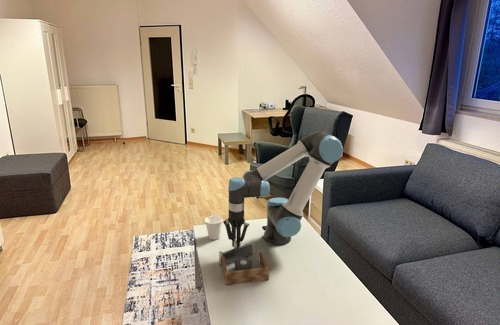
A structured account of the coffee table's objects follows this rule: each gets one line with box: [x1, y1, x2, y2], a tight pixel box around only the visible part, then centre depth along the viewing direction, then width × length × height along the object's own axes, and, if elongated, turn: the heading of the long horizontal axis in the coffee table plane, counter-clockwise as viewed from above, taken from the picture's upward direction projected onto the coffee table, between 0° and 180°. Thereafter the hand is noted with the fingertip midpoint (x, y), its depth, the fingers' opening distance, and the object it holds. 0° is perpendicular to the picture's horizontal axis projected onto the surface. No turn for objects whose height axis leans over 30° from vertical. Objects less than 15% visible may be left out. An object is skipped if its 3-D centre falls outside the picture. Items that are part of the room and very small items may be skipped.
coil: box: [234, 257, 253, 271], centre depth 163 cm, size 8×8×4 cm
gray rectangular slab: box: [218, 242, 254, 267], centre depth 169 cm, size 18×2×7 cm, turn 123°
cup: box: [204, 215, 224, 241], centre depth 190 cm, size 10×10×11 cm
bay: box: [221, 251, 270, 286], centre depth 159 cm, size 19×14×6 cm
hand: (236, 252), depth 173 cm, fingers closed
